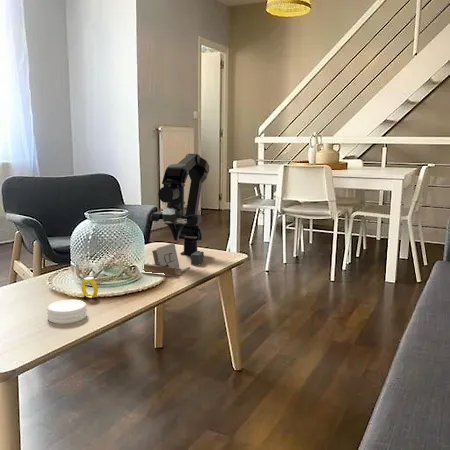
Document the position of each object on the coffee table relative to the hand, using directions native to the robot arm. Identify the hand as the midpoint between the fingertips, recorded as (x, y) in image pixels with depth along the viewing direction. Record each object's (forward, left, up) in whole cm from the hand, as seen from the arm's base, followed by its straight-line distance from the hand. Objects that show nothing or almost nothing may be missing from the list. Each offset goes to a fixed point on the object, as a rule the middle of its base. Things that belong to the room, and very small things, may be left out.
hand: (176, 240), depth 184 cm
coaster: (+61, -7, -9) cm, 62 cm away
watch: (+45, -10, -9) cm, 47 cm away
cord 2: (-3, +7, -9) cm, 12 cm away
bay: (+10, 0, -9) cm, 13 cm away
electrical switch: (+10, 0, -9) cm, 14 cm away
